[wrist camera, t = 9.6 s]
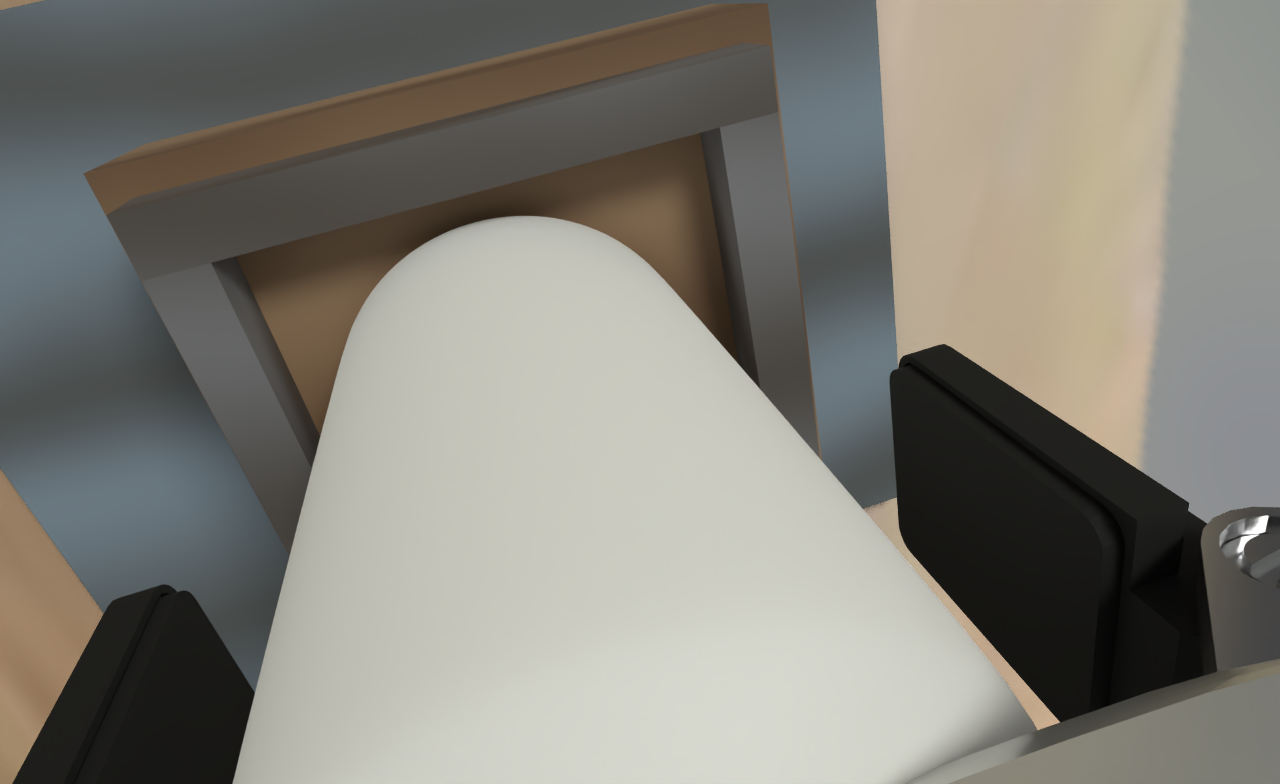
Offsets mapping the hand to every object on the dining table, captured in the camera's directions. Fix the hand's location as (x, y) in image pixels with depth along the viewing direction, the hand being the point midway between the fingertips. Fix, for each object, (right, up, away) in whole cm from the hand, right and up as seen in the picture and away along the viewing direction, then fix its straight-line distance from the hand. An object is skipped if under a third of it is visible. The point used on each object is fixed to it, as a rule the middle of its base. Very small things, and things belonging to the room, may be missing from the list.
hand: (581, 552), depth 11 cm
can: (-2, +2, +5) cm, 6 cm away
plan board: (-2, +4, +8) cm, 9 cm away
